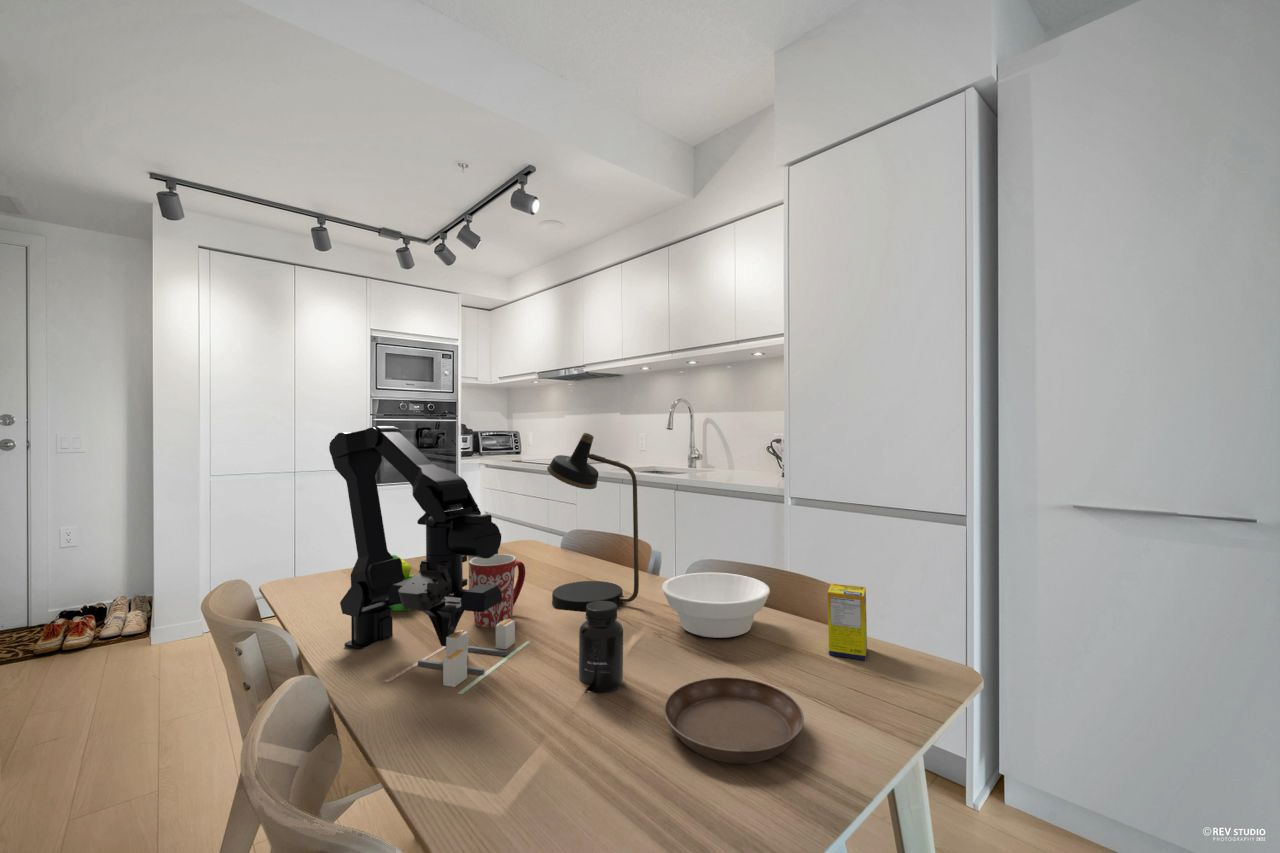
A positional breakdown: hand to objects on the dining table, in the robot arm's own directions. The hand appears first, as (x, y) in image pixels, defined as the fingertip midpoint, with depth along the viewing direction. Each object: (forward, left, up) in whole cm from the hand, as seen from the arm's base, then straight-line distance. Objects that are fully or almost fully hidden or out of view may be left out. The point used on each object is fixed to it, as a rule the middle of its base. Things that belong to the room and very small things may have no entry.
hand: (445, 645), depth 89 cm
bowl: (+41, +29, -4) cm, 50 cm away
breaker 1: (+7, -7, -2) cm, 10 cm away
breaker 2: (+7, +7, -2) cm, 10 cm away
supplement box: (+65, +24, -3) cm, 69 cm away
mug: (-1, +19, -3) cm, 19 cm away
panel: (+4, 0, -3) cm, 5 cm away
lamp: (+12, +37, -3) cm, 39 cm away
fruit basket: (-29, +24, -3) cm, 38 cm away
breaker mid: (+2, 0, -2) cm, 3 cm away
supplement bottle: (+28, +1, -3) cm, 28 cm away
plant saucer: (+49, -6, -4) cm, 49 cm away
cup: (-15, +34, -3) cm, 37 cm away
